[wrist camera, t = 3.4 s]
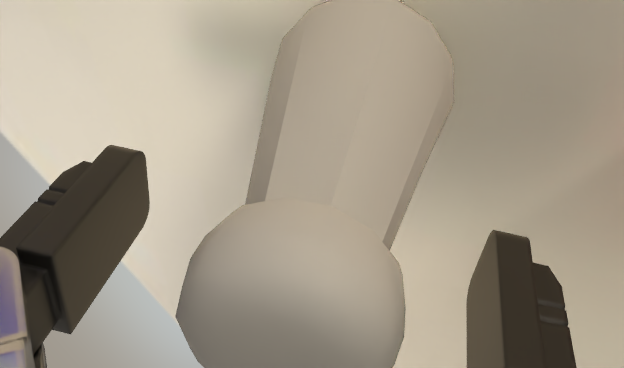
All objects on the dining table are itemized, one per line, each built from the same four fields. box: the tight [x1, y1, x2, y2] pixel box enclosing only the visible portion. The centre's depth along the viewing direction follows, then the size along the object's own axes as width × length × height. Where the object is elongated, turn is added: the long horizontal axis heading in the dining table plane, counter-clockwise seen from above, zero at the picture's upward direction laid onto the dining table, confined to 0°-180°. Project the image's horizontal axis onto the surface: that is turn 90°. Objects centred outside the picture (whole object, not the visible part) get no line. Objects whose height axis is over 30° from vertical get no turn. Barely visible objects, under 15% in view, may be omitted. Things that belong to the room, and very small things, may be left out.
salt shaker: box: [176, 0, 454, 368], centre depth 15 cm, size 6×6×13 cm
